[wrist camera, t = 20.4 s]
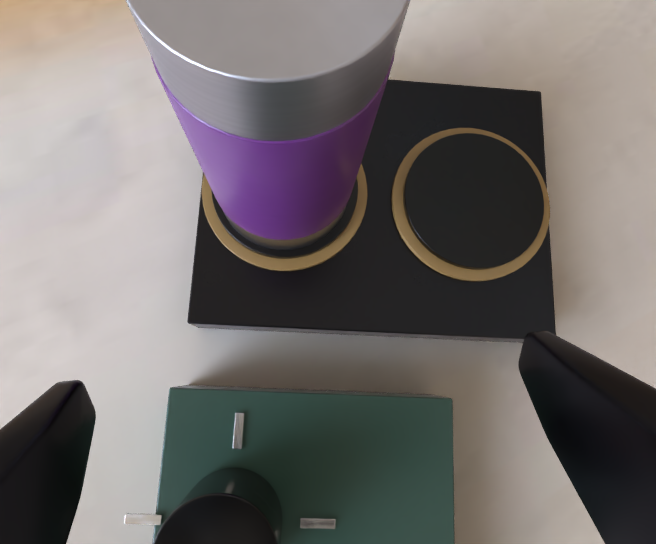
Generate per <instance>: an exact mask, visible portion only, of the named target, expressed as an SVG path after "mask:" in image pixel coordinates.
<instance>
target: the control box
mask: <svg viewBox="0 0 656 544" xmlns="http://www.w3.org/2000/svg"><path fill="white" fill-rule="evenodd" d="M232 467H237V468H244V469H248V470H251V471H253V472H256V473H257V474H259V475H261V476H262V477H263V478H264V479H266V480H267V481H268V482H269V483H270V485H271V486H272V487H273V489H274V490H275V492H276V494H277V496H278V498H279V501H280V504H281V508H282V534H281V544H455V542H454V475H453V407H452V399H451V398H447V397H442V396H436V395H430V394H404V393H378V392H353V391H327V390H302V389H276V388H250V387H225V386H199V385H184V386H178V387H171V388H170V389H169V397H168V406H167V416H166V425H165V434H164V443H163V452H162V461H161V471H160V480H159V489H158V498H157V507H156V514H137V513H127V514H125V521H124V524H132V525H155V526H154V535H153V542H154V540H155V537H156V535H157V533H158V531H159V529H160V528H161V526H162V524H163V523H164V522H165V520H166V519H167V518H168V517H169V515H170V514H171V513H172V512H173V511H174V510H175V508H176V507H177V506H178V505H179V504H180V503H181V501H182V500H183V499H184V498H185V497H186V496H187V494H188V493H189V492H190V491H191V490H192V489H193V487H194V486H195V485H196V484H197V483H198V482H199V481H200V480H202V479H203V478H204V477H206V476H207V475H209V474H210V473H213V472H215V471H217V470H220V469H224V468H232Z"/></svg>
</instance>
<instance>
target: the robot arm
mask: <svg viewBox="0 0 656 544" xmlns="http://www.w3.org/2000/svg"><path fill="white" fill-rule="evenodd" d="M519 371H520V374H521V376H522V379H523V381H524V384H525V386H526V388H527V391H528V393H529V396H530V398H531V400H532V403H533V405H534V408H535V410H536V412H537V415H538V417H539V420H540V422H541V424H542V427H543V429H544V431H545V433H546V436H547V438H548V440H549V442H550V444H551V445H552V447H553V449H554V451H555V453H556V455H557V457H558V458H559V460H560V462H561V464H562V466H563V467H564V469H565V471H566V473H567V475H568V477H569V478H570V480H571V482H572V484H573V486H574V488H575V489H576V491H577V493H578V495H579V497H580V499H581V500H582V502H583V504H584V506H585V508H586V509H587V511H588V513H589V515H590V517H591V519H592V520H593V522H594V524H595V526H596V528H597V530H598V531H599V533H600V535H601V537H602V539H603V540H604V542H605V544H656V389H655V388H654V387H652V386H650V385H648V384H646V383H644V382H642V381H640V380H639V379H637V378H635V377H633V376H631V375H629V374H627V373H626V372H624V371H622V370H620V369H618V368H616V367H614V366H612V365H611V364H609V363H607V362H605V361H603V360H601V359H599V358H597V357H596V356H594V355H592V354H590V353H588V352H586V351H584V350H582V349H581V348H579V347H577V346H575V345H573V344H571V343H569V342H567V341H566V340H564V339H562V338H560V337H558V336H556V335H554V334H552V333H551V332H548V331H537V332H530V333H528V334H527V335H526V336H525V338H524V342H523V346H522V350H521V354H520V358H519ZM95 418H96V415H95V409H94V406H93V404H92V402H91V399H90V397H89V395H88V392H87V390H86V388H85V385H84V384H83V383H82V382H81V381H79V380H73V381H64V382H59V383H56V384H55V385H54V386H52V387H51V388H50V389H49V390H48V391H46V392H45V393H44V394H43V395H41V396H40V397H39V398H38V399H37V400H35V401H34V402H33V403H32V404H31V405H29V406H28V407H27V408H26V409H25V410H23V411H22V412H21V413H20V414H18V415H17V416H16V417H15V418H14V419H12V420H11V421H10V422H9V423H8V424H6V425H5V426H4V427H3V428H2V429H0V544H66V542H67V539H68V536H69V532H70V529H71V526H72V523H73V520H74V516H75V513H76V510H77V506H78V503H79V499H80V496H81V491H82V487H83V482H84V477H85V472H86V467H87V461H88V456H89V451H90V446H91V441H92V436H93V430H94V425H95Z"/></svg>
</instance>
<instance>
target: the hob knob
mask: <svg viewBox="0 0 656 544" xmlns="http://www.w3.org/2000/svg"><path fill="white" fill-rule="evenodd" d="M281 534H282V508H281V504H280V501H279V498H278V496H277V494H276V492H275V490H274V489H273V487H272V486H271V485H270V483H269V482H268V481H267V480H266V479H264V478H263V477H262V476H261V475H259V474H257V473H256V472H253V471H251V470H248V469H244V468H237V467H232V468H224V469H220V470H217V471H215V472H213V473H210V474H209V475H207V476H206V477H204V478H203V479H202V480H200V481H199V482H198V483H197V484H196V485H195V486H194V487H193V489H192V490H191V491H190V492H189V493H188V494H187V496H186V497H185V498H184V499H183V500H182V501H181V503H180V504H179V505H178V506H177V507H176V508H175V510H174V511H173V512H172V513H171V514H170V515H169V517H168V518H167V519H166V520H165V522H164V523H163V524H162V526H161V528H160V529H159V531H158V533H157V535H156V537H155V540H154V542H153V544H281Z"/></svg>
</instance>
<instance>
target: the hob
mask: <svg viewBox="0 0 656 544" xmlns="http://www.w3.org/2000/svg"><path fill="white" fill-rule="evenodd" d="M549 218H550V203H549V196H548V192H547V184H546V167H545V151H544V135H543V119H542V103H541V92H539V91H527V90H514V89H501V88H489V87H476V86H464V85H451V84H438V83H426V82H413V81H401V80H387V83H386V86H385V89H384V93H383V96H382V99H381V102H380V105H379V108H378V111H377V115H376V118H375V121H374V124H373V127H372V130H371V133H370V137H369V140H368V143H367V146H366V149H365V152H364V156H363V159H362V162H361V165H360V168H359V171H358V174H357V178H356V181H355V184H354V187H353V190H352V193H351V196H350V198H349V201H348V203H347V205H346V209H345V211H344V213H343V215H342V217H341V219H340V221H339V222H338V224H337V225H336V226H335V227H334V228H333V230H332V231H331V232H329V233H328V234H327V235H326V236H325V237H323V238H322V239H320V240H319V241H317V242H315V243H313V244H311V245H308V246H305V247H303V248H298V249H291V250H276V249H270V248H266V247H263V246H260V245H257V244H255V243H253V242H251V241H249V240H248V239H246V238H245V237H243V236H242V235H241V234H240V233H238V232H237V231H236V230H235V229H234V227H233V226H232V225H231V224H230V222H229V221H228V220H227V218H226V216H225V214H224V212H223V210H222V208H221V207H220V205H219V203H218V202H217V200H216V198H215V196H214V194H213V191H212V189H211V187H210V185H209V183H208V181H207V179H206V177H205V174H204V172H203V178H202V188H201V197H200V207H199V217H198V226H197V236H196V245H195V255H194V265H193V274H192V284H191V293H190V303H189V313H188V323H189V324H191V325H194V326H196V327H198V328H217V329H239V330H260V331H282V332H303V333H325V334H347V335H368V336H390V337H411V338H433V339H455V340H476V341H498V342H519V343H523V342H524V338H525V336H526V335H527V334H528V333H530V332H537V331H548V332H551V333H552V334H554V335H556V329H555V313H554V297H553V281H552V265H551V248H550V232H549Z"/></svg>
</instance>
